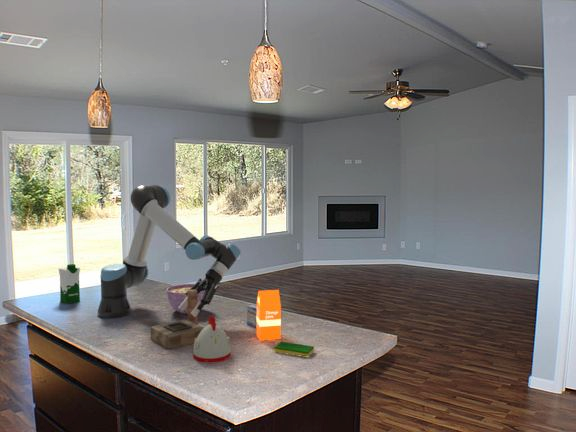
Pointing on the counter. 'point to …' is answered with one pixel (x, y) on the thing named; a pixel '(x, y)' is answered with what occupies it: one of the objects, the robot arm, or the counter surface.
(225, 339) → the kitchen timer
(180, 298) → the bowl of food
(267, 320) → the orange juice
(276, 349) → the dish sponge
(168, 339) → the walnut socket block
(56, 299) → the counter surface
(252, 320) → the medicine box
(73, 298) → the milk carton
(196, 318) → the terracotta peg
